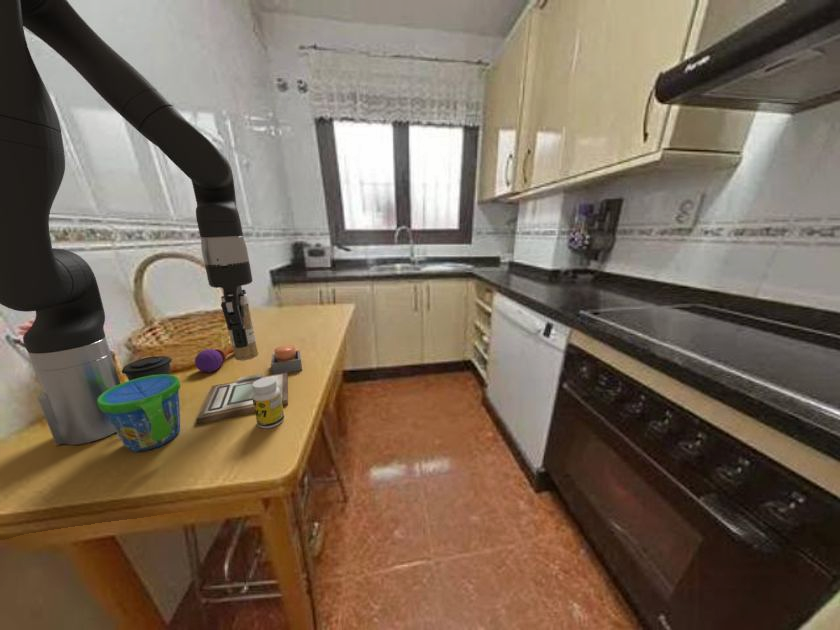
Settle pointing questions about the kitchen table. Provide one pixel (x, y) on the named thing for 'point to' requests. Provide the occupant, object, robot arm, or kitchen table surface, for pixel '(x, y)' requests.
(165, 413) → the snack cup
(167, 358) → the coffee cup
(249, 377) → the colouring board
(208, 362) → the kendama
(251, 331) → the spice bottle
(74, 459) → the kitchen table surface
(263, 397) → the supplement bottle
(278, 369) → the button collar
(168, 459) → the kitchen table surface
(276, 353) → the button
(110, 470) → the kitchen table surface
